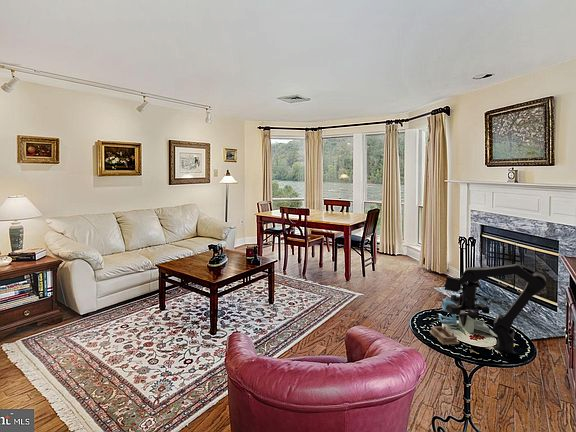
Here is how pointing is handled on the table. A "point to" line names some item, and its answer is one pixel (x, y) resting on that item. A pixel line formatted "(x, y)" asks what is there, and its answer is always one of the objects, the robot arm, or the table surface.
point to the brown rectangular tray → (444, 335)
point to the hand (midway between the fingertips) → (466, 325)
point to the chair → (445, 302)
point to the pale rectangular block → (468, 324)
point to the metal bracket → (483, 327)
